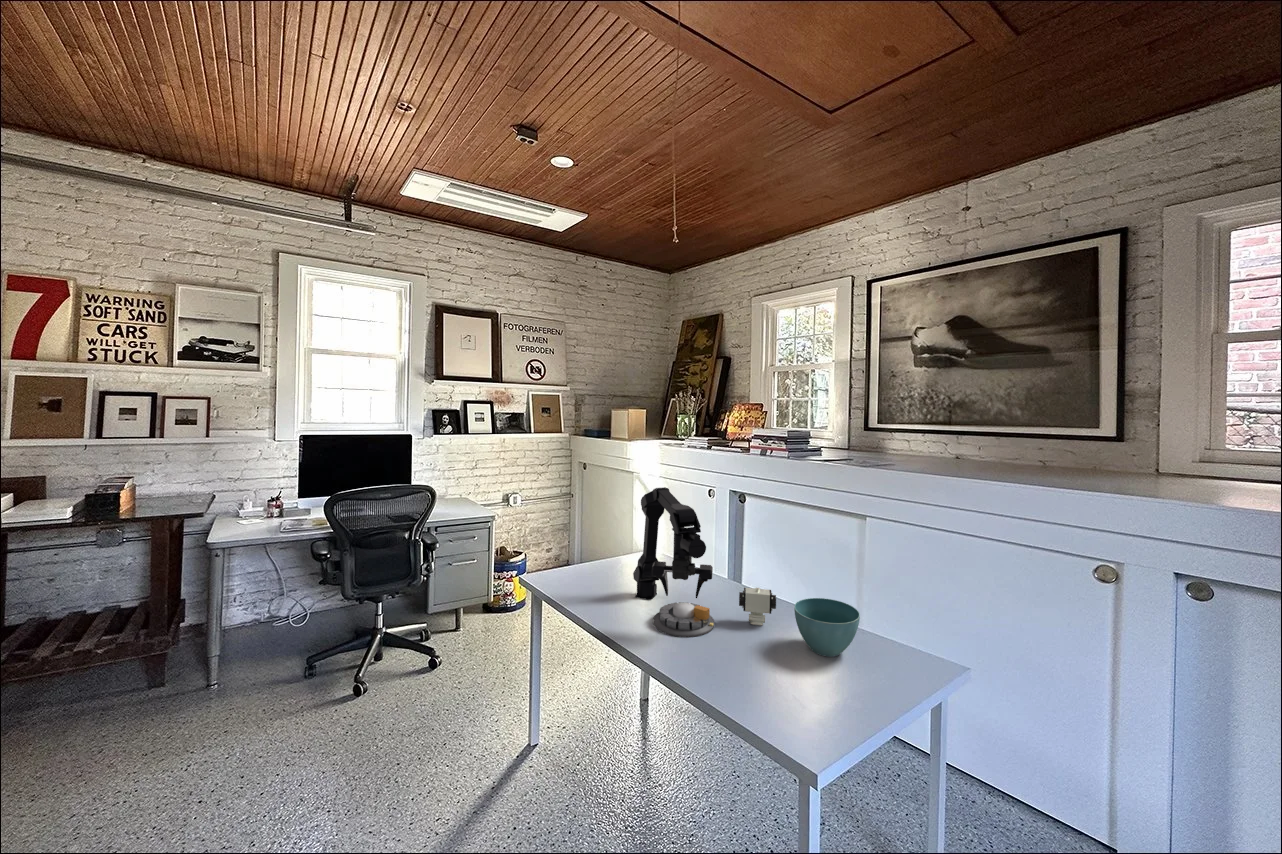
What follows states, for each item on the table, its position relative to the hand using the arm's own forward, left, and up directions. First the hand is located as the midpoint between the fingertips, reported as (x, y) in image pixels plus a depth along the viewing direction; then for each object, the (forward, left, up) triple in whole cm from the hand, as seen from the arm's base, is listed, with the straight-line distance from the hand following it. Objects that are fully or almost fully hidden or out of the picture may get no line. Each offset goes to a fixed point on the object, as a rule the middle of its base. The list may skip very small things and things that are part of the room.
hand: (681, 596), depth 166 cm
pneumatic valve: (+21, +17, -12) cm, 29 cm away
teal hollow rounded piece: (+43, +7, -12) cm, 45 cm away
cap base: (-1, +7, -12) cm, 13 cm away
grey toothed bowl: (-1, +7, -10) cm, 12 cm away
